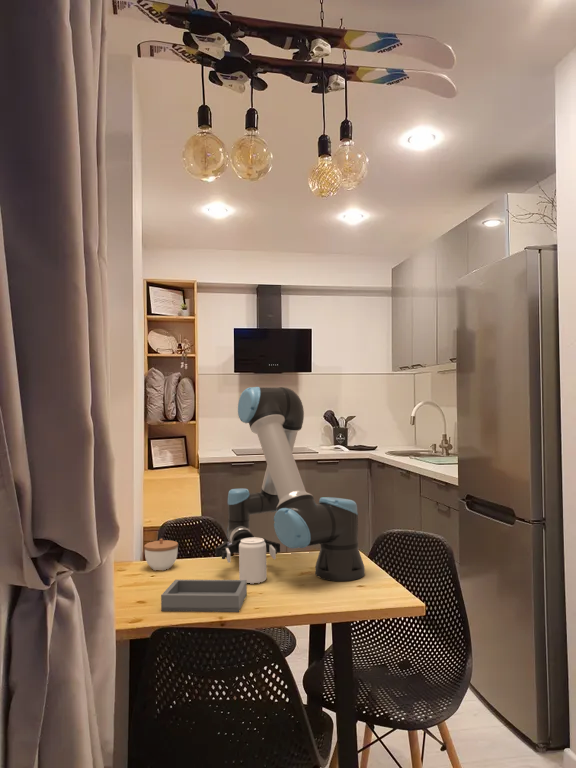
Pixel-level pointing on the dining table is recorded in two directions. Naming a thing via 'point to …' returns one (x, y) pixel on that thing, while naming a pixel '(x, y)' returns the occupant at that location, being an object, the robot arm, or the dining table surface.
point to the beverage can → (252, 560)
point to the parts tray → (204, 595)
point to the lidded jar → (161, 554)
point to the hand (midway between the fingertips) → (252, 556)
